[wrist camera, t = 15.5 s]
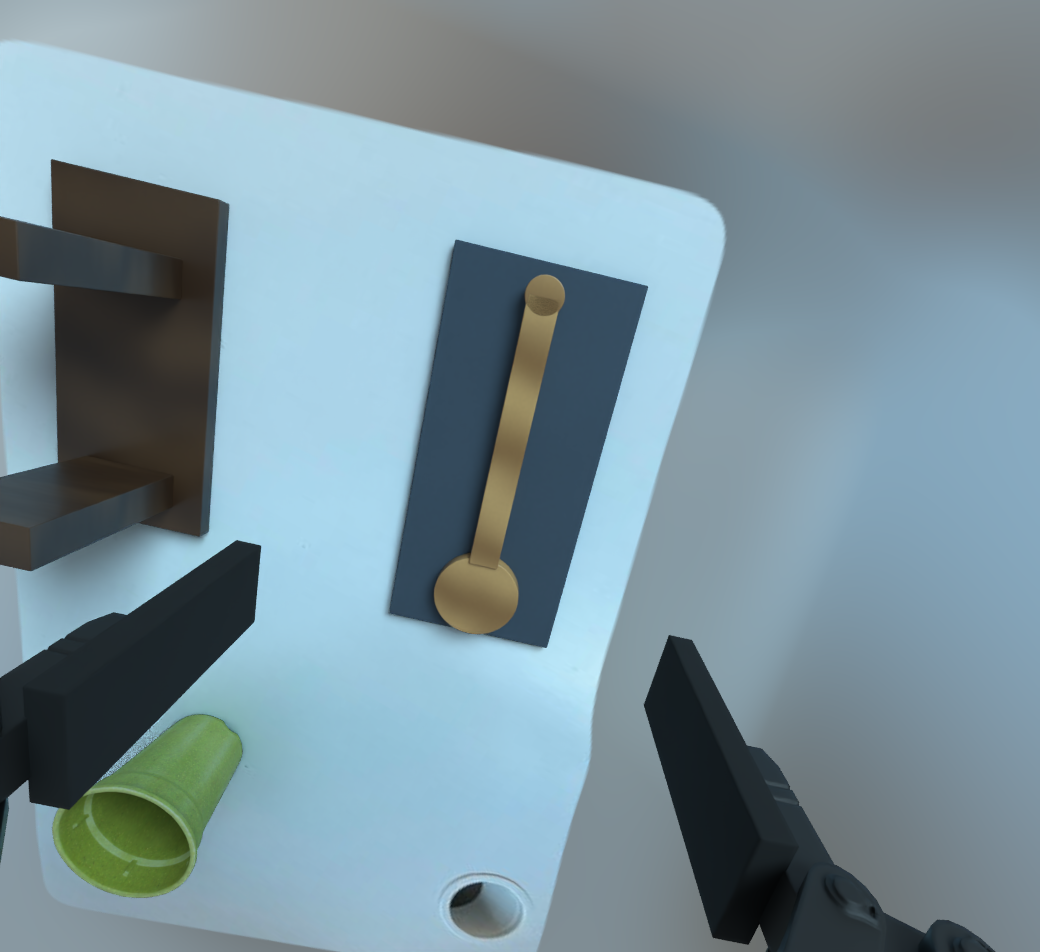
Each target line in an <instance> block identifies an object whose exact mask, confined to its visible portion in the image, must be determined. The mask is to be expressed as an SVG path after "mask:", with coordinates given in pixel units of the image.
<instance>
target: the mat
mask: <svg viewBox="0 0 1040 952" xmlns="http://www.w3.org/2000/svg"><path fill="white" fill-rule="evenodd" d="M539 275H551V276H553V277H555V278H557V279H558V280H559V281H560V282H561V284H562V285H563V288H564V291H565V300H564V304H563V306H562V308H561V309H560V311H559V312H558V315H557V320H556V324H555V328H554V332H553V336H552V341H551V345H550V349H549V353H548V357H547V362H546V366H545V370H544V374H543V378H542V383H541V387H540V391H539V395H538V400H537V404H536V408H535V412H534V416H533V421H532V425H531V429H530V433H529V437H528V442H527V446H526V450H525V454H524V458H523V463H522V467H521V471H520V475H519V479H518V484H517V488H516V492H515V496H514V500H513V505H512V509H511V513H510V517H509V521H508V526H507V530H506V534H505V538H504V542H503V547H502V551H501V555H500V560H502V561H503V562H504V563H506V564H507V565H508V566H509V567H510V569H511V570H512V571H513V573H514V575H515V577H516V579H517V582H518V587H519V597H518V605H517V608H516V611H515V613H514V615H513V616H512V618H511V619H510V620H509V621H508V623H506V624H505V625H504V626H503V627H501V628H499V629H498V630H495V631H493V632H490V633H485V634H486V635H490V636H495V637H499V638H504V639H508V640H513V641H517V642H522V643H527V644H531V645H536V646H540V647H545V648H547V645H548V642H549V638H550V635H551V631H552V627H553V624H554V620H555V617H556V613H557V610H558V606H559V602H560V599H561V595H562V592H563V588H564V585H565V581H566V577H567V574H568V570H569V567H570V563H571V560H572V556H573V553H574V549H575V545H576V542H577V538H578V535H579V531H580V528H581V524H582V520H583V517H584V513H585V510H586V506H587V503H588V499H589V496H590V492H591V488H592V485H593V481H594V478H595V474H596V471H597V467H598V463H599V460H600V456H601V453H602V449H603V446H604V442H605V439H606V435H607V431H608V428H609V424H610V421H611V417H612V414H613V410H614V406H615V403H616V399H617V396H618V392H619V389H620V385H621V381H622V378H623V374H624V371H625V367H626V364H627V360H628V357H629V353H630V349H631V346H632V342H633V339H634V335H635V332H636V328H637V324H638V321H639V317H640V314H641V310H642V307H643V303H644V300H645V296H646V292H647V289H648V286H645V285H641V284H637V283H633V282H629V281H624V280H620V279H616V278H612V277H608V276H604V275H600V274H596V273H592V272H587V271H583V270H579V269H575V268H571V267H567V266H563V265H559V264H554V263H550V262H546V261H542V260H538V259H534V258H530V257H526V256H522V255H517V254H513V253H509V252H505V251H501V250H497V249H493V248H489V247H484V246H480V245H476V244H472V243H468V242H464V241H460V240H455V246H454V251H453V257H452V263H451V268H450V274H449V280H448V285H447V291H446V296H445V302H444V308H443V313H442V319H441V325H440V330H439V336H438V341H437V347H436V353H435V358H434V364H433V370H432V375H431V381H430V386H429V392H428V398H427V403H426V409H425V415H424V420H423V426H422V431H421V437H420V443H419V448H418V454H417V460H416V465H415V471H414V476H413V482H412V488H411V493H410V499H409V505H408V510H407V516H406V521H405V527H404V533H403V538H402V544H401V550H400V555H399V561H398V567H397V572H396V578H395V583H394V589H393V595H392V600H391V606H390V612H389V613H390V614H395V615H400V616H404V617H409V618H413V619H418V620H422V621H427V622H431V623H436V624H440V625H445V626H449V627H452V626H451V625H449V624H448V623H447V622H446V621H445V620H444V619H443V618H442V616H441V615H440V613H439V612H438V610H437V608H436V605H435V601H434V587H435V584H436V581H437V578H438V576H439V574H440V572H441V570H442V569H443V567H444V566H445V565H446V564H447V563H448V562H449V561H451V560H452V559H454V558H455V557H457V556H460V555H463V554H466V553H471V551H472V546H473V542H474V537H475V533H476V528H477V523H478V519H479V514H480V510H481V505H482V501H483V496H484V492H485V487H486V483H487V478H488V473H489V469H490V464H491V460H492V455H493V451H494V446H495V442H496V437H497V433H498V428H499V423H500V419H501V414H502V410H503V405H504V401H505V396H506V392H507V387H508V383H509V378H510V373H511V369H512V364H513V360H514V355H515V351H516V346H517V342H518V337H519V333H520V328H521V323H522V319H523V314H524V310H525V305H526V303H525V290H526V287H527V285H528V284H529V282H530V281H531V280H532V279H533V278H535V277H537V276H539Z"/></svg>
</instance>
